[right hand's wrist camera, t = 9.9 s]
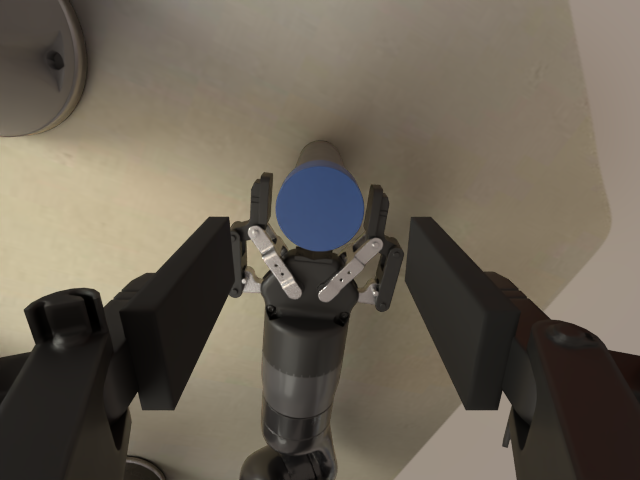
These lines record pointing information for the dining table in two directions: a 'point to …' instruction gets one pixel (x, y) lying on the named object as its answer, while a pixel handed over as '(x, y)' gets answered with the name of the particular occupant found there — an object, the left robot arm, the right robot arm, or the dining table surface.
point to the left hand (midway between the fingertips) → (322, 180)
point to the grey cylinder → (319, 153)
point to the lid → (319, 206)
